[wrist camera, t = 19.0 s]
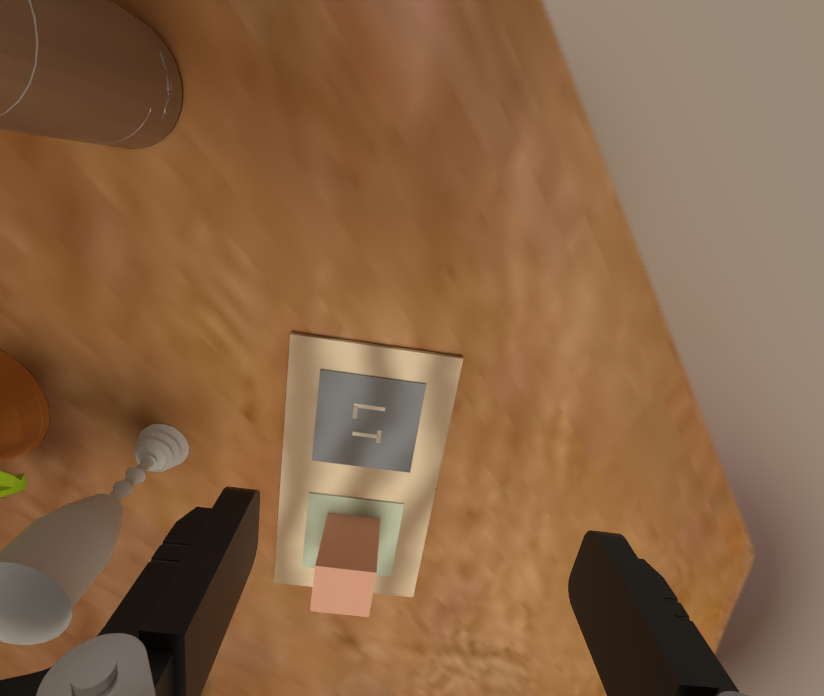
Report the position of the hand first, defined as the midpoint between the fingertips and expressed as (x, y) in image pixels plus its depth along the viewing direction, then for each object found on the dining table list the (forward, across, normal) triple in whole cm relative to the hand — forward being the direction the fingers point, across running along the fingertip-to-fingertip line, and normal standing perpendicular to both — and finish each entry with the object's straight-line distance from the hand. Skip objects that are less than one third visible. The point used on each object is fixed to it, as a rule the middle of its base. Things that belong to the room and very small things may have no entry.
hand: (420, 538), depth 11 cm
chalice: (+30, +22, +20) cm, 42 cm away
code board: (+30, +2, +21) cm, 37 cm away
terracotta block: (+29, +2, +28) cm, 41 cm away
